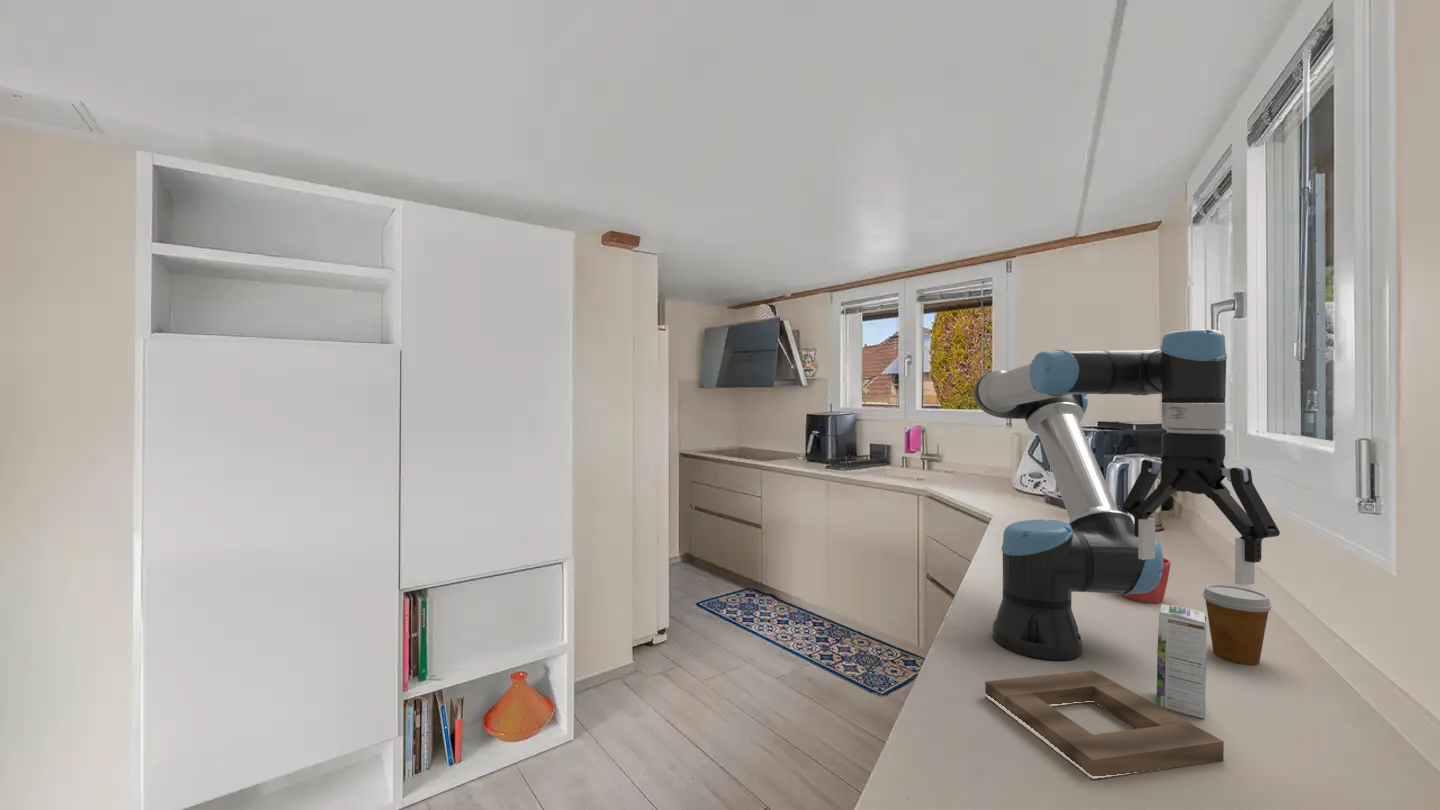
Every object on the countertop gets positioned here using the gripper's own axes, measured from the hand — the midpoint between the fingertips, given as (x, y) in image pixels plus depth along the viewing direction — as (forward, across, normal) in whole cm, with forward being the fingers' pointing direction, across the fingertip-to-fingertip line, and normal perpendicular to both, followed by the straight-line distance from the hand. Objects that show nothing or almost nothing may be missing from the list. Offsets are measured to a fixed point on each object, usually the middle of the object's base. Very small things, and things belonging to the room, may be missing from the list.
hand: (1192, 570), depth 86 cm
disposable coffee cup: (+21, -10, +27) cm, 36 cm away
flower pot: (+21, -38, +43) cm, 61 cm away
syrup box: (+21, -1, -1) cm, 21 cm away
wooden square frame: (+21, 0, -19) cm, 28 cm away
